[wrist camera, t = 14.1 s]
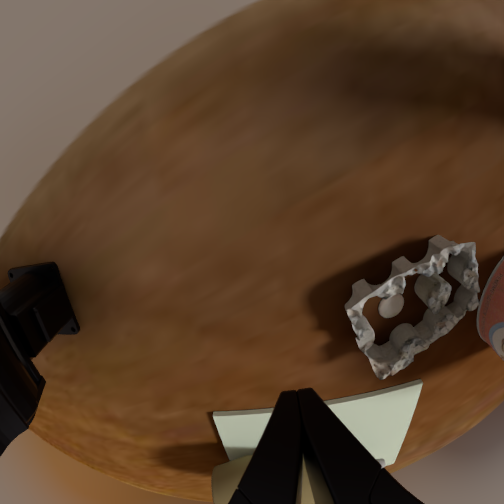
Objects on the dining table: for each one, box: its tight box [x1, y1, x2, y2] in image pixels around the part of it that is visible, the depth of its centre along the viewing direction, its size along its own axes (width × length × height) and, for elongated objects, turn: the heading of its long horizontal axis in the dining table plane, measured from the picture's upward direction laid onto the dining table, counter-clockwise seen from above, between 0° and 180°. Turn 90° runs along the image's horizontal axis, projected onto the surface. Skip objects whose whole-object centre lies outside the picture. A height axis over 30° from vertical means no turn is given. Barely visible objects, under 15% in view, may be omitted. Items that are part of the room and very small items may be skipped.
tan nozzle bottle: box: [211, 455, 385, 504], centre depth 24 cm, size 8×8×18 cm
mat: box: [213, 379, 423, 466], centre depth 27 cm, size 20×16×1 cm
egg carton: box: [345, 235, 480, 380], centre depth 19 cm, size 11×8×4 cm
